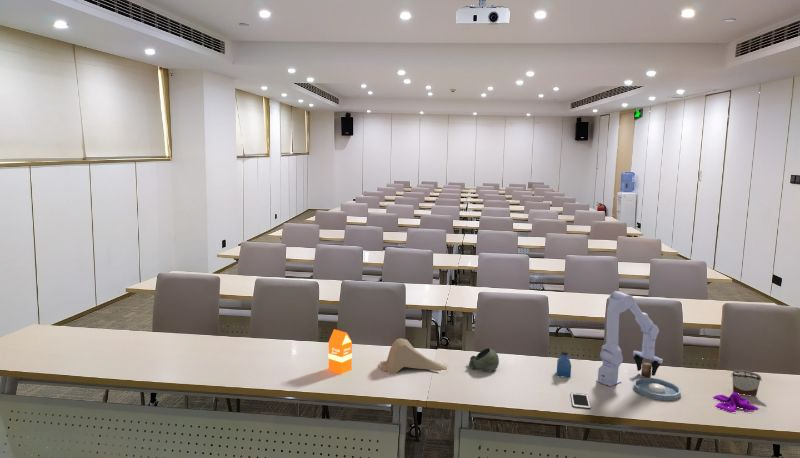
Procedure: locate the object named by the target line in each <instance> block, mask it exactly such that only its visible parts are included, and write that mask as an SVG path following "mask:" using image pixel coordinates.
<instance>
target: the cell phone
mask: <svg viewBox="0 0 800 458" xmlns="http://www.w3.org/2000/svg"><path fill="white" fill-rule="evenodd" d="M570 399H571V400H572V401H571V406H572V408H574V407H578V409H583V408H586V409H587V410H591V409H592V406H591V400H590V397H589V395H588V394H587V393H580V392H579V393H577V392H570Z"/></svg>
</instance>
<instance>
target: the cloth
mask: <svg viewBox="0 0 800 458" xmlns="http://www.w3.org/2000/svg"><path fill="white" fill-rule="evenodd" d="M712 398H714V399H718V400H717V401H719V400H721V401H723V402H721V401H720V402H719V403H717V404H716V405H714V406H715V407H717V408H716V409H718V408H720V409H719V410H722V409H724V410H723V411H725V410H727V411H726V412H728V411H730V412H729V413H731V412H737V410H738V409H739V408H743V409H747V410H756V411H759V410H760V408H759V407H758V406H756V405H753V404H751V402H750V400H749V399H748V398H745V397H741V395H739V394H738V393H733V392H732V393H731V394H730V395H729V396H727V395H725V394H717V395H714V396H712ZM714 399H713V400H714ZM724 402H725V403H724ZM749 402H750V403H749ZM715 407H714V408H715ZM728 407H729V408H728ZM737 407H739V408H738V409H737ZM736 409H737V410H736ZM758 409H759V410H758ZM735 410H736V411H735ZM747 410H743V411H744V412H751V411H747ZM744 412H743V413H744Z"/></svg>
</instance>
